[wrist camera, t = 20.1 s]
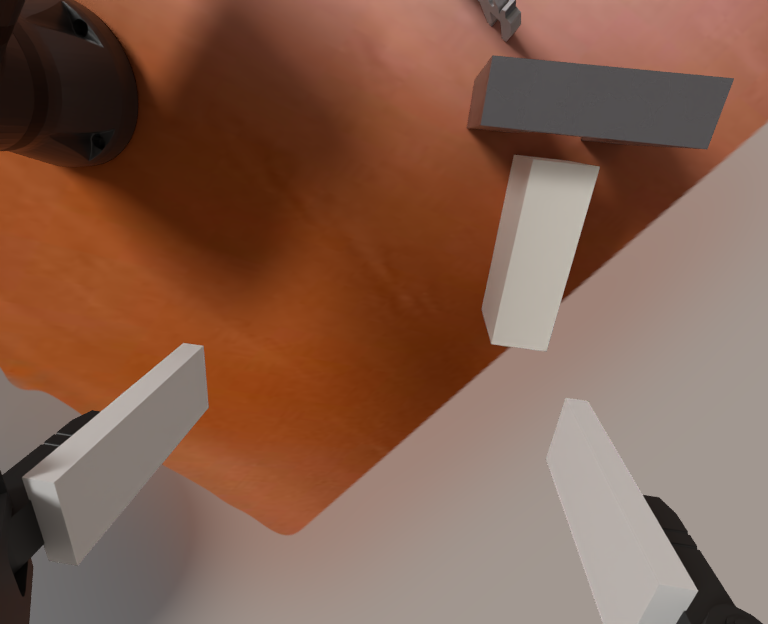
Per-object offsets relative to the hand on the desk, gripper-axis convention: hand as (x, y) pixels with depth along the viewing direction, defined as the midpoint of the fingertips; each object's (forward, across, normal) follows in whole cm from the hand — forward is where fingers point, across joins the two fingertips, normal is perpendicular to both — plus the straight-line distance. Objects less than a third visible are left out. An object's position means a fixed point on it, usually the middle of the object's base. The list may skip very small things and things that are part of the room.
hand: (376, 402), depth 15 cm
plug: (+31, +11, 0) cm, 33 cm away
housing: (+31, +11, +12) cm, 35 cm away
